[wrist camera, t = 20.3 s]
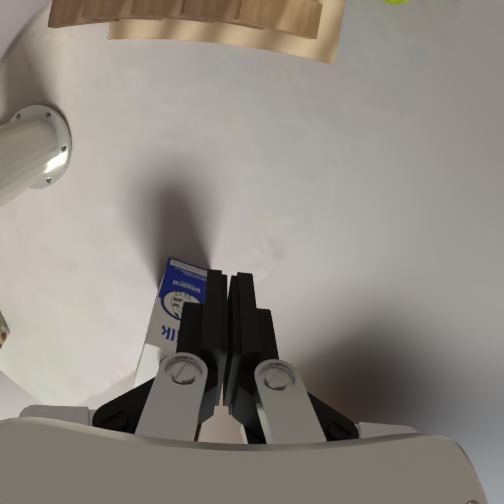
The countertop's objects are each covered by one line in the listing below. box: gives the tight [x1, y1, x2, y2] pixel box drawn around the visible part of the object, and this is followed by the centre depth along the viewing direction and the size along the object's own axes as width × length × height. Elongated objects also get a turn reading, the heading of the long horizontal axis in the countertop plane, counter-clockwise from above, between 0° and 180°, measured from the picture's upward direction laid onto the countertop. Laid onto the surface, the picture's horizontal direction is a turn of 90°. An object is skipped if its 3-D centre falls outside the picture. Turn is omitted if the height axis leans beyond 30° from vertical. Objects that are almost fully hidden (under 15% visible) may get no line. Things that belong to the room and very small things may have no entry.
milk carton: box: [133, 258, 207, 389], centre depth 41 cm, size 7×7×20 cm
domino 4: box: [180, 0, 267, 30], centre depth 28 cm, size 2×5×10 cm
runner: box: [108, 0, 345, 64], centre depth 31 cm, size 29×10×1 cm, turn 81°
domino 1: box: [48, 0, 119, 28], centre depth 27 cm, size 2×5×10 cm
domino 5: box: [233, 0, 323, 39], centre depth 29 cm, size 2×5×10 cm
